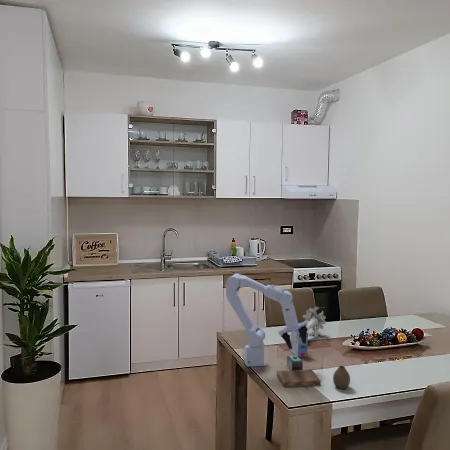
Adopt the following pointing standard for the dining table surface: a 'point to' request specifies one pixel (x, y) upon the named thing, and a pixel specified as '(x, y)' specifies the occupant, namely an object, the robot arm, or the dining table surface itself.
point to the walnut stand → (298, 378)
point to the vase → (341, 378)
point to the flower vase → (314, 321)
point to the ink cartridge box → (298, 344)
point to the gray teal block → (294, 364)
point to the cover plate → (294, 358)
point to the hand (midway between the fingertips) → (297, 345)
